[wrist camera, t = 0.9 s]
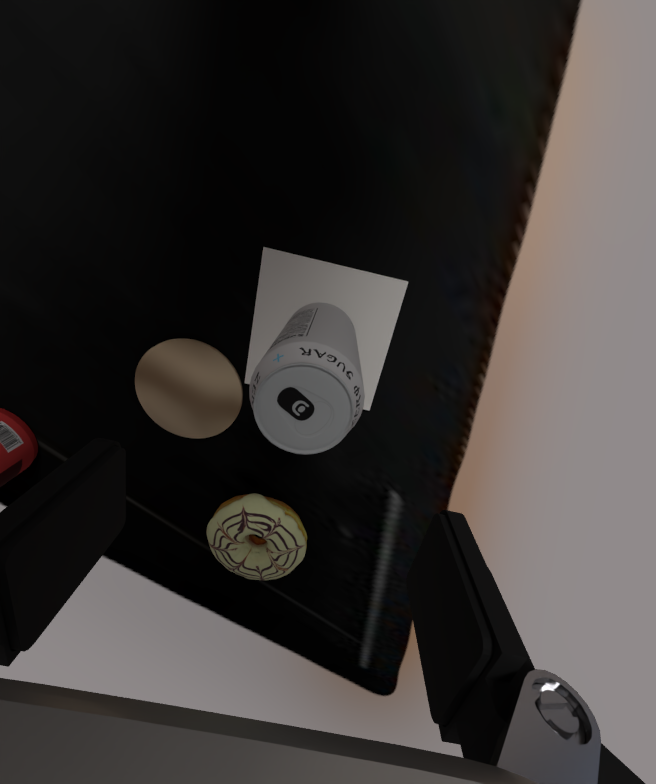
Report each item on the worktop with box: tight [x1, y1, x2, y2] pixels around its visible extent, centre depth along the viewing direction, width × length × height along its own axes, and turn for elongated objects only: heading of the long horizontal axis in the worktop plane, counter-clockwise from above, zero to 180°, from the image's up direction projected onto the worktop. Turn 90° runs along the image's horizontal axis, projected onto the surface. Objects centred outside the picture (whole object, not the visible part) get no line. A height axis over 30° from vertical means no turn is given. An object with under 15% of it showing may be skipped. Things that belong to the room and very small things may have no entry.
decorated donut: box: [207, 493, 307, 580], centre depth 38 cm, size 10×11×4 cm
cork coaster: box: [135, 338, 243, 438], centre depth 33 cm, size 10×10×1 cm
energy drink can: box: [249, 302, 365, 454], centre depth 24 cm, size 6×6×15 cm
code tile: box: [245, 247, 408, 410], centre depth 31 cm, size 12×12×1 cm
